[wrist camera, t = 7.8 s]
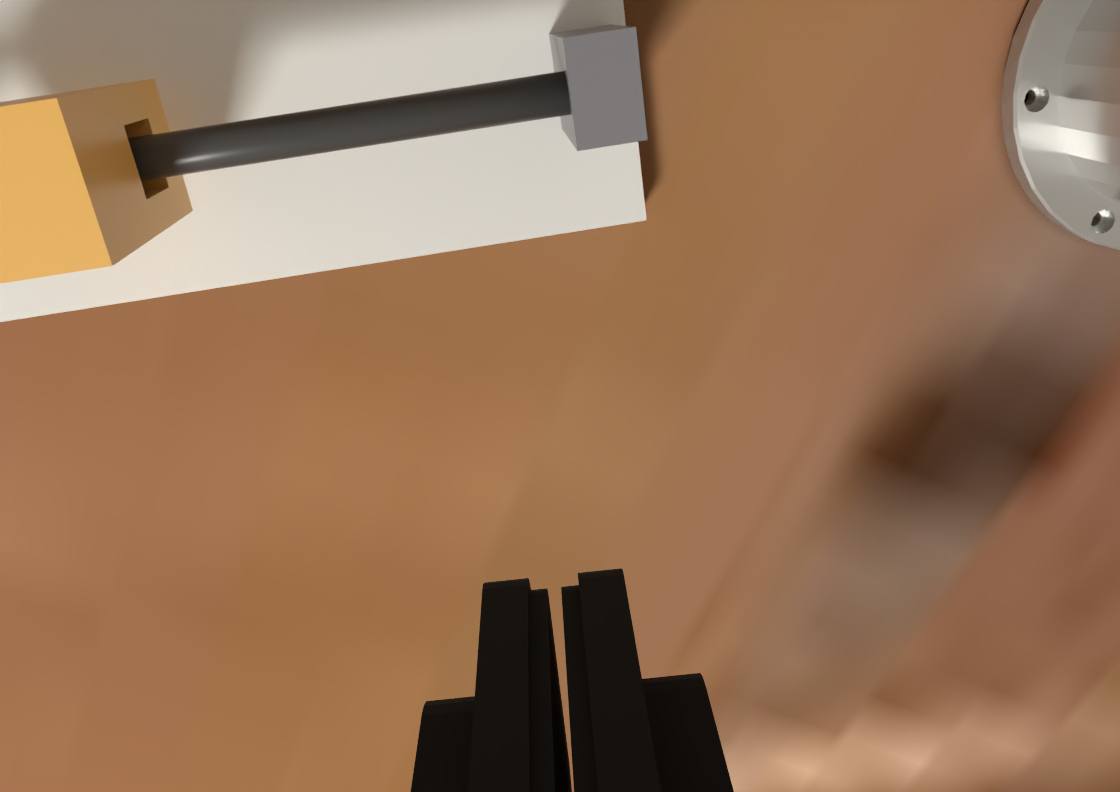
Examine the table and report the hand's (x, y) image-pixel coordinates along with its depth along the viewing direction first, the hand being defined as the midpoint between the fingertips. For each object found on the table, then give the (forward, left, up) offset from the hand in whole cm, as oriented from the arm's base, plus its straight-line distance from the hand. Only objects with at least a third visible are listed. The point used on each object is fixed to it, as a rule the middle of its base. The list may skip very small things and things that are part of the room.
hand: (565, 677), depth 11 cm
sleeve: (+12, -5, -21) cm, 25 cm away
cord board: (+9, -5, -25) cm, 27 cm away
